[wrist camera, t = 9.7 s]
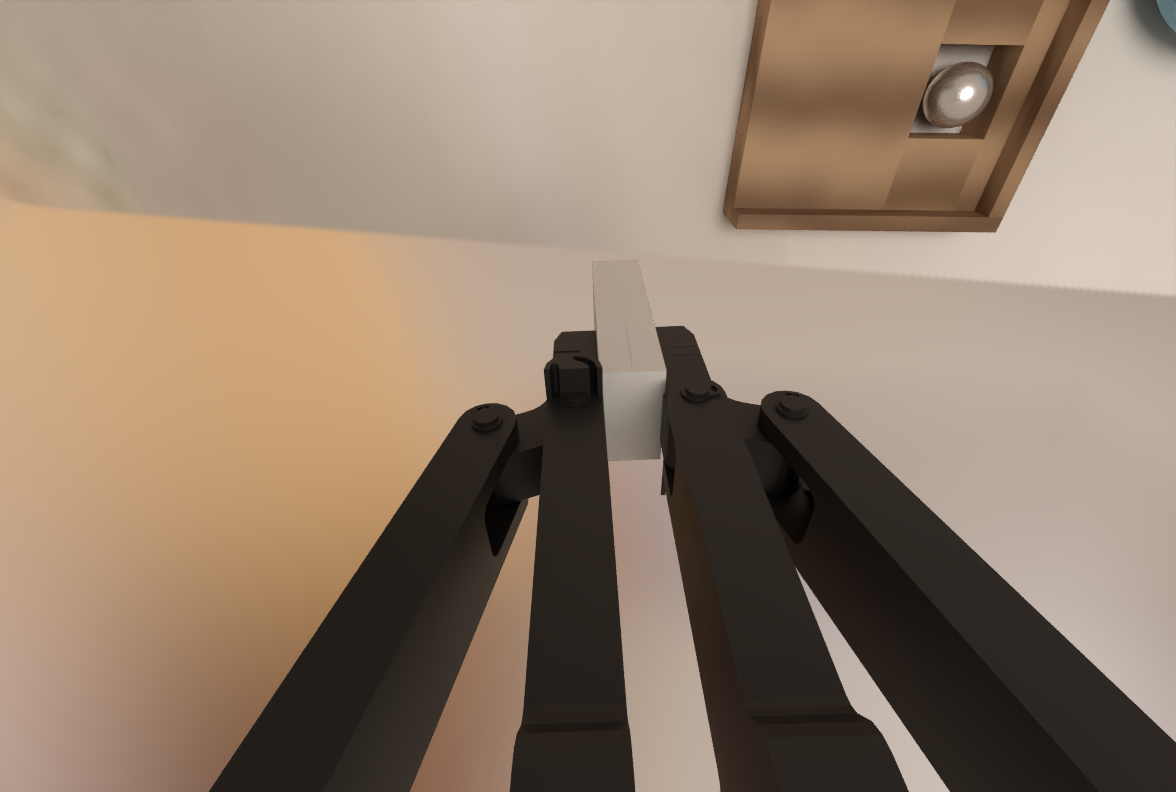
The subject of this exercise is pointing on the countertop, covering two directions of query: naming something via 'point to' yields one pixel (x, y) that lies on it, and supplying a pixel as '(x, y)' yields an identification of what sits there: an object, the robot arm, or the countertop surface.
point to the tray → (893, 112)
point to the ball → (957, 94)
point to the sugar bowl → (1168, 12)
